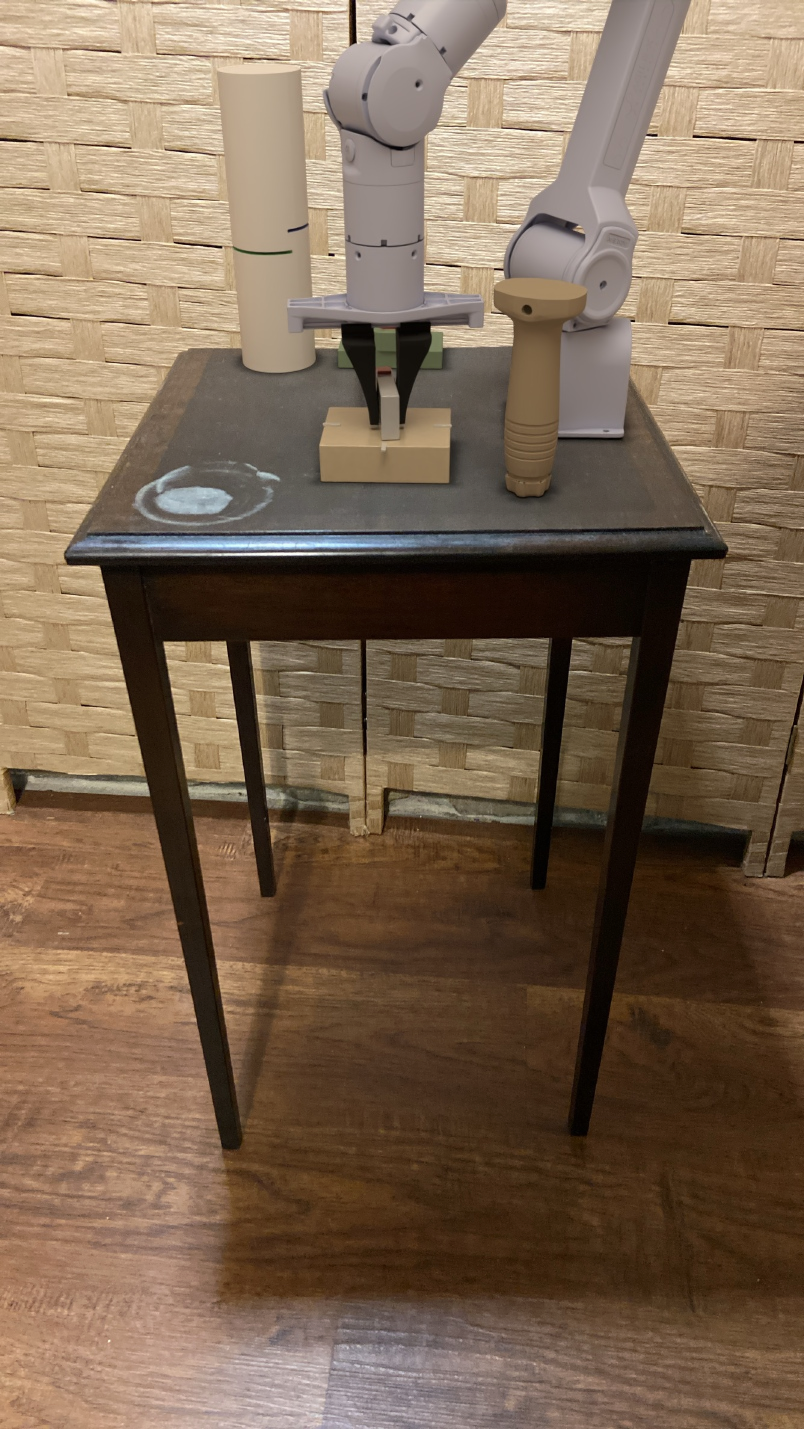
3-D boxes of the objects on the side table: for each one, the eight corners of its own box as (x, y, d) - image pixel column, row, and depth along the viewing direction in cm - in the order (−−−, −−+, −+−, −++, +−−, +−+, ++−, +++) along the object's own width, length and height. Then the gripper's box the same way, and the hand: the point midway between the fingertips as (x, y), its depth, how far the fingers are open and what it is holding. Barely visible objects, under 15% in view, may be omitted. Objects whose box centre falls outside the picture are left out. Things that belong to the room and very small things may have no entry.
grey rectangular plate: (399, 439, 87) (399, 392, 84) (381, 440, 86) (380, 393, 84) (392, 411, 91) (391, 365, 89) (375, 411, 91) (374, 366, 89)
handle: (556, 510, 83) (573, 303, 74) (476, 494, 86) (483, 291, 77) (577, 485, 87) (596, 284, 78) (500, 470, 89) (509, 274, 80)
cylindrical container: (330, 359, 111) (318, 67, 96) (275, 378, 106) (254, 76, 92) (282, 343, 115) (263, 61, 100) (227, 360, 110) (199, 68, 96)
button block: (442, 347, 113) (443, 312, 111) (441, 369, 108) (442, 332, 106) (343, 346, 114) (342, 311, 112) (338, 368, 108) (336, 332, 106)
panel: (451, 437, 95) (452, 401, 93) (450, 489, 86) (451, 450, 85) (330, 436, 95) (329, 399, 93) (318, 487, 87) (315, 449, 85)
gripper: (478, 221, 84) (472, 398, 92) (284, 226, 83) (295, 403, 92) (490, 245, 79) (483, 431, 87) (282, 250, 78) (294, 437, 86)
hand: (387, 419), depth 89 cm, fingers closed on grey rectangular plate
